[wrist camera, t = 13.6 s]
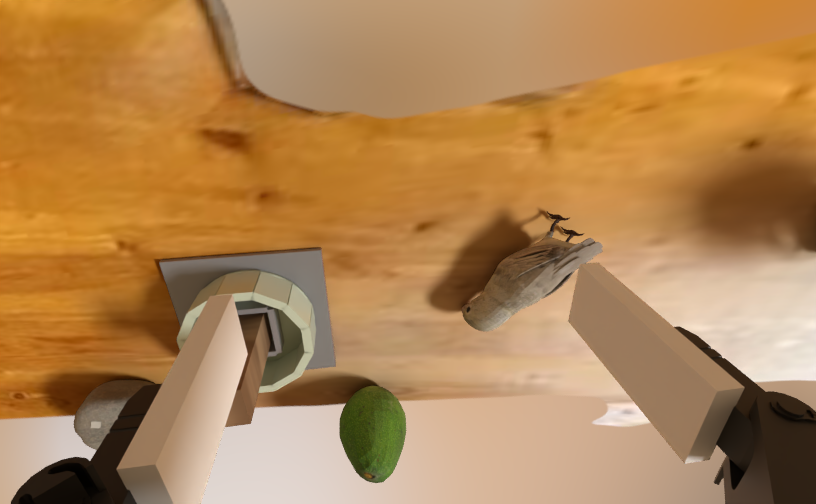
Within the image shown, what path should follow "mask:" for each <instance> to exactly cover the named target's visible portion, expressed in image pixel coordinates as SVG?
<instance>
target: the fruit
mask: <svg viewBox="0 0 816 504" xmlns="http://www.w3.org/2000/svg"><path fill="white" fill-rule="evenodd" d="M405 435H406V418H405V413H404V411H403V409H402V407H401V404H400V403H399V401H398V399H397V398H396V397H395V396H394V395H393V394H392V393H391V392H389V391H388V390H386V389H385V388H383V387H379V386H368V387H365V388H362V389H360V390H359V391H357V392H355V394H354V395H353V396H352V397H351V398H350V399H349V401H348V402H347V403H346V405H345V407H344V408H343V411H342V414H341V417H340V439H341V442H342V444H343V447H344V450H345V452H346V454H347V457H348V459H349V460H350V462H351V464H352V465H353V467H354V469H355V471H356V472H357V473H358V474H359V475H360V477H362V478H363V479H365V480H366V481H369V482H373V483H379V482H384V481H385V480H386V479H387V478H388V477H389V476H390V475H391V474H392V473H393V471H394V469H395V467H396V465H397V462H398V459H399V457H400V454H401V452H402V449H403V445H404V440H405Z"/></svg>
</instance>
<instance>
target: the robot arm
mask: <svg viewBox="0 0 816 504" xmlns="http://www.w3.org/2000/svg"><path fill="white" fill-rule="evenodd" d="M568 321H569V323H570V324H571V325H572V326H573V328H574V329H575V330H576V331H577V332H578V334H579V335H580V336H581V337H582V339H583V340H584V341H585V342H586V343H587V345H588V346H589V347H590V348H591V350H592V351H593V352H594V353H595V355H596V356H597V357H598V358H599V359H600V361H601V362H602V363H603V364H604V366H605V367H606V368H607V369H608V370H609V372H610V373H611V374H612V375H613V377H614V378H615V379H616V380H617V381H618V383H619V384H620V385H621V386H622V388H623V389H624V390H625V391H626V393H627V394H628V395H629V396H630V397H631V399H632V400H633V401H634V402H635V404H636V405H637V406H638V407H639V408H640V410H641V411H642V412H643V413H644V415H645V416H646V417H647V418H648V419H649V421H650V422H651V423H652V424H653V426H654V427H655V428H656V429H657V431H658V432H659V433H660V434H661V435H662V437H663V438H664V439H665V440H666V442H667V443H668V444H669V445H670V446H671V447H672V449H673V450H674V451H675V453H676V454H677V455H678V456H679V457H680V459H681V460H682V461H683V462H684V463H692V462H698V461H705V460H709V459H710V457H711V455H712V453H713V451H714V449H715V447H716V445H718V446H719V447H720V449H721V450H722V451H723V452H725V454H726V455H727V456H726V458H725V460H724V462H723V463H722V465H721V467H720V469H719V471H718V473H717V475H716V477H715V481H714V483H715V484H718V485H719V483H720V481H721V479H723V478H724V488H725V504H816V412H815V411H814V410H813V409H812V408H811V407H810V406H808V405H806V404H805V403H803V402H802V401H800V400H798V399H796V398H794V397H791V396H788V395H786V394H782V393H778V392H765V391H764V390H763V389H762V388H760V387H759V386H758V385H757V384H756V383H754V382H753V381H752V380H751V379H749V378H748V377H747V376H746V375H745V374H743V373H742V372H741V371H740V370H738V369H737V368H736V367H735V366H734V365H732V364H731V363H730V362H729V361H727V360H726V359H725V358H722V356H721V355H720V354H719V353H718V352H716V351H715V350H714V349H711V347H710V346H709V345H708V344H707V343H705V342H704V341H703V340H702V339H701V338H699V337H698V336H697V335H695V334H693V333H691V332H689V331H687V330H685V329H683V328H681V327H673V326H672V325H671V324H670V323H668V322H667V321H666V320H665V319H664V318H662V317H661V316H660V315H659V314H658V313H657V312H655V311H654V310H653V309H652V308H651V307H650V306H648V305H647V304H646V303H645V302H644V301H642V300H641V299H640V298H639V297H638V296H637V295H635V294H634V293H633V292H632V291H631V290H630V289H628V288H627V287H626V286H625V285H624V284H623V283H621V282H620V281H619V280H618V279H617V278H615V277H614V276H613V275H612V274H611V273H610V272H608V271H607V270H606V269H605V268H604V267H603V266H601V265H600V264H599V263H588V264H580V266H579V271H578V276H577V281H576V285H575V290H574V295H573V300H572V305H571V310H570V315H569V320H568ZM247 355H248V353H247V349H246V345H245V341H244V337H243V333H242V329H241V325H240V321H239V318H238V314H237V310H236V306H235V302H234V298H233V294H227V295H216V296H210V297H209V299H208V301H207V302H206V304H205V306H204V308H203V310H202V312H201V314H200V315H199V317H198V319H197V321H196V323H195V325H194V327H193V328H192V330H191V332H190V334H189V336H188V338H187V339H186V341H185V343H184V345H183V347H182V349H181V351H180V352H179V354H178V356H177V358H176V360H175V362H174V364H173V365H172V367H171V369H170V371H169V373H168V375H167V377H166V378H165V380H164V382H163V384H155V385H146V386H143V387H142V388H141V389H140V390H139V391H137V392H136V393H135V394H134V395H133V396H132V397H131V398H130V399H129V400H128V401H127V402H126V404H125V405H124V407H123V409H122V410H121V412H120V414H119V415H118V419H117V420H115V422H114V423H113V425H112V427H111V428H110V430H109V431H110V432H109V433H108V434H107V435H106V436H105V438H104V440H103V441H102V443H101V445H100V446H99V448H98V449H97V451H96V453H95V454H94V456H93V458H92V459H91V461H89V460H88V459H86V458H80V457H73V458H68V459H64V460H60V461H58V462H56V463H54V464H51V465H49V466H47V467H45V468H44V469H42V470H41V471H39V472H38V473H36V474H35V475H33V476H32V477H31V478H30V479H29V480H28V481H27V482H26V483H25V484H24V485H22V486H21V488H20V489H19V490H18V491H17V493H16V495H15V496H14V498H13V500H12V501H11V504H201V501H202V498H203V494H204V492H205V488H206V485H207V482H208V479H209V476H210V472H211V469H212V466H213V463H214V460H215V456H216V454H217V450H218V447H219V444H220V441H221V437H222V434H223V431H224V428H225V425H226V422H227V419H228V415H229V412H230V409H231V406H232V403H233V400H234V396H235V393H236V390H237V387H238V384H239V380H240V377H241V374H242V371H243V368H244V365H245V361H246V358H247Z"/></svg>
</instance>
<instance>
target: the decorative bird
mask: <svg viewBox="0 0 816 504" xmlns="http://www.w3.org/2000/svg"><path fill="white" fill-rule="evenodd" d="M547 213H548V212H547ZM548 214H549V213H548ZM549 215H550V216H551V217H550V218H551V219H556V220H555V222H554V223H553V224H552V226H551V230H550V232H548V234H547V235H546V236H545V237H544V238H543V239H542V240H541V241H540V242H538V243H536V244H534V245H532V246H530V247H528V248H525V249H522V250H519V251H517V252H515V253H513V254H512V255H510V256H508V257H506V258H505V259H504V260H502V261H501V262H500V263H499V265H498V266H497V268H496V269H495V272H494V274H493V275H492V277H491V279H490V280H489V282H488V283H487V285H486V286H485V288H484V292H483V293H482V294H481V295H480V296H478V297H477V298H475V299H474V300H472V301H471V302H470V303H468V304H466V305H464V306H463V307H462V313H463V317H464V319H465V321H466V322H467V323H468V324H469V325H470V326H472V327H473V328H475V329H477V330H479V331H492V330H494V329H496V328H498V327H499V326H501V325H502V324H503V323H504V322H506V321H507V320H508V319H509V318H510V317H511V316H512V315H514V314H515V313H517V312H518V311H519V310H521V309H523V308H525V307H528V306H530V305H532V304H534V303H536V302H538V301H539V300H540V299H542V298H545V297H547V296H549V295H550V294H552V293H554V292H555V291H556V290H558V289H559V288H560V287H561V286H562V285H563V284H564V283H565V282H566V281H567V280H568V279H569V278H570V276H571V275H572V274H573V272H574V271H575V270H577V269H578V268H579V266H580V264H586V262H588V261H590V260H591V259H593V257H594V256H596V255H597V254H599V253H601V252H602V249H601V248H602V247H603V246H602V244H601V243H599V242H595V241H594V240H593V239H591V238H588V239H586V240H585V241H583V242H582V243H578V244H572V243H568V242H569V240H570V239H571V238H572V237H573V236H581V235H583V234H578V233H576V232H575V231H573V230H566V229H563V228H562V227H561V228H562V229H563V230H564V231H565V232H564V233H565V234H568V235H569V234H570V236H569V237H568V238H567V240H566V242H564V241H561V240H558V239H555V238H552V236H553V230H554V226H555V225H556V223H559V221H561V220H568V219H569V218H566V219H565V218H563V217H562V216H560V215H553V214H549Z"/></svg>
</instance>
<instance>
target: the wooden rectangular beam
mask: <svg viewBox="0 0 816 504" xmlns="http://www.w3.org/2000/svg"><path fill="white" fill-rule="evenodd" d="M238 318H239V321H240V325H241V329H242V333H243V337H244V341H245V345H246V349H247V353H248V355H247V358H246V361H245V365H244V368H243V371H242V374H241V377H240V380H239V384H238V387H237V390H236V393H235V396H234V400H233V403H232V406H231V409H230V412H229V415H228V419H227V422H226V425H225V427H230V426H237V425H245V424H251V421H252V416H253V412H254V408H255V404H256V400H257V396H258V392H259V388H260V384H261V380H262V376H263V372H264V368H265V364H266V360H267V356H268V352H269V348H270V344H271V340H272V332H271V328H270V324H269V319H268V315H267V312H266V313H255V314H244V315H238Z"/></svg>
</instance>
